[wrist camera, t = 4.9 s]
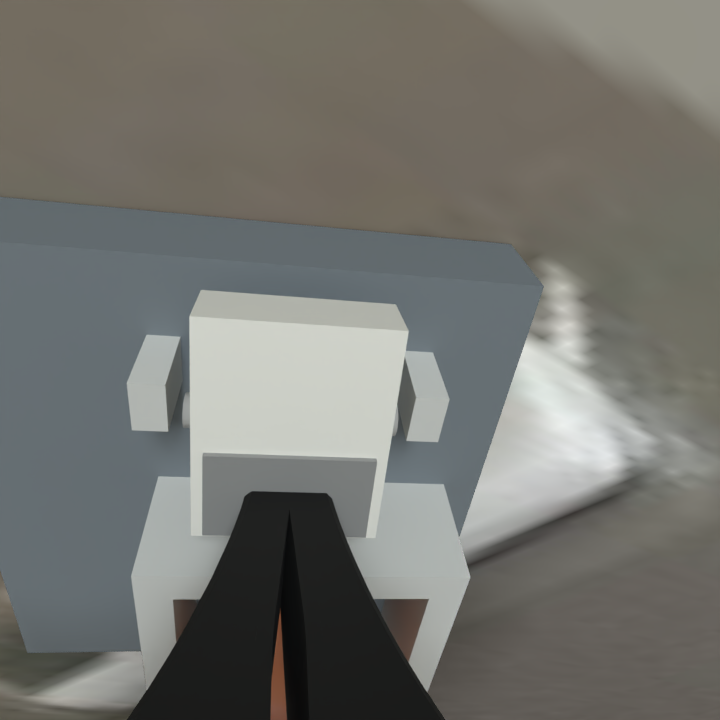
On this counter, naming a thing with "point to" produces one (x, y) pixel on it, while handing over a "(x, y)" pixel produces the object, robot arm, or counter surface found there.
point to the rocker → (291, 403)
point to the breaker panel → (172, 441)
